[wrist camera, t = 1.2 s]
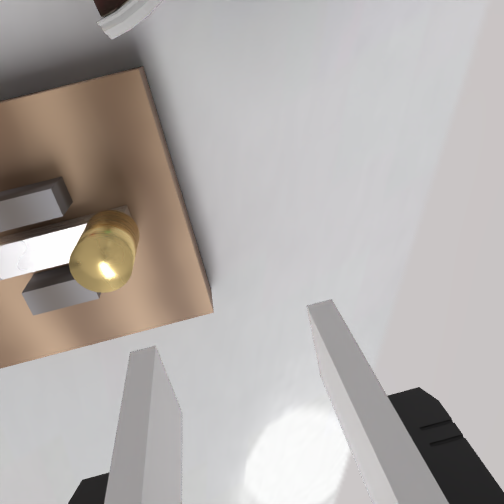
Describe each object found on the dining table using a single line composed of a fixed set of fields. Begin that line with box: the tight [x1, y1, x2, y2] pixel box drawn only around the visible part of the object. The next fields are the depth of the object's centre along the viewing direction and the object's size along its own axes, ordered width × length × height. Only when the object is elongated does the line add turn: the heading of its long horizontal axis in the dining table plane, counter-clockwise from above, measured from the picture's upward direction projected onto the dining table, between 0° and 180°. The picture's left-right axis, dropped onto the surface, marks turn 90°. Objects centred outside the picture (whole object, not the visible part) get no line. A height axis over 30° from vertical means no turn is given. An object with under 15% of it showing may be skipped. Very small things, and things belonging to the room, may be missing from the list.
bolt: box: [0, 205, 140, 293], centre depth 25 cm, size 8×3×6 cm, turn 102°
